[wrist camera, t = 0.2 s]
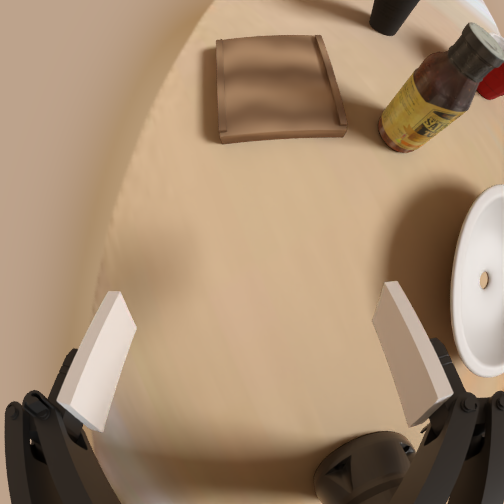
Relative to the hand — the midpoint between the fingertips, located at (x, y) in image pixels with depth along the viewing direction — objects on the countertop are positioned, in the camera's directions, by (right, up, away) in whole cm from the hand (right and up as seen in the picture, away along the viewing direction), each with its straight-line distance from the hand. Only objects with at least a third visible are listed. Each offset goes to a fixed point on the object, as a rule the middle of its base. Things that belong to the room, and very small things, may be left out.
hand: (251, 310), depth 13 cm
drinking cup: (+22, +40, +16) cm, 48 cm away
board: (+3, +24, +16) cm, 29 cm away
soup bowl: (+32, -1, +14) cm, 35 cm away
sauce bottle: (+18, +18, +16) cm, 30 cm away
